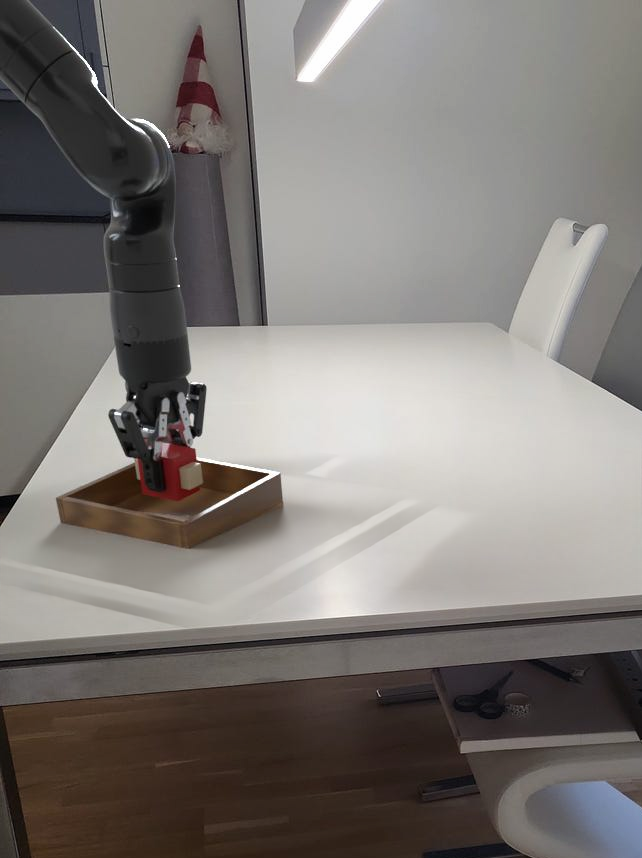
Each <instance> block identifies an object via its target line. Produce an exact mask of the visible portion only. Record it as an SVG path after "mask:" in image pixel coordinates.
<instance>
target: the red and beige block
mask: <svg viewBox="0 0 642 858" xmlns="http://www.w3.org/2000/svg"><path fill="white" fill-rule="evenodd" d="M148 448H150V449H151V446H149V447H148ZM196 458H197V451H196V448H194V447H191V448H190V447H184V446H179V445H174V444H168V443H163V442H162V456H161V460H163V466H164V474H165V481H166V490H165V491H163V492H161V493H160V492H155V491H150V490H149V489H148V488H147V487H146V485H145V481H144V474H143V467H142V462H141V460H140V459H137V458H136V459H134V462H135V467H136V474H137V479H138V480H141V487H142V494H145V495H149V496H154V497H159V498H164V499H168V500H173V501H180V500H182V499H184V498H186V497H188V496H190V495H192V494H194V493H196V492H198V491H200V485H201V484H203V479H202V470H201V464H200V463H197V459H196Z"/></svg>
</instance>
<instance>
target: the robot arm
mask: <svg viewBox="0 0 642 858" xmlns="http://www.w3.org/2000/svg"><path fill="white" fill-rule="evenodd" d="M0 81H1V82H3V84H4V85H5V86H6V87H7V88H8V89H9V90H10V91H11V92H12V93H13V94H14V95H15V96H16V97H17V98H18V99H19V100H20V101H21V102H22V103H23V104H24V105H25V106H26V107H27V108H28V110H30V111H31V112H32V113H33V114H34V115H35V116H36V117H37V118H38V119H39V120H40V121H41V122H42V124H43V125H44V127H45V128H46V130H47V132H48V133H49V135H50V137H51V138H52V139H53V142H55V143H56V145H57V146H58V148H59V150H61V152H62V153H63V155H64V156H65V158H66V159H67V161H69V164H70V165H71V166H72V167H73V168H74V170H76V172H77V173H78V174H79V175H80V176H81V178H82V179H84V181H86V182H87V183H88V184H89V185H90V186H91V187H92V188H93V189H94V190H95V191H97V192H98V193H100V194H101V195H103V196H104V197H107V198H108V199H109V200H110V223H109V225H108V227H107V229H106V231H105V232H104V235H103V254H104V255H103V256H104V260H105V261H104V262H105V267H106V275H107V281H108V282H107V283H108V291H109V313H110V321H111V327H112V335H113V341H114V348H115V349H114V350H115V355H116V361H117V368H118V374H119V376H120V377H121V378H122V379H123V380H124V382H125V381H126V383H127V386H128V388H127V391H126V395H125V403H124V404H123V405H122V406H121V407H120V408H118V409H115V408H110V409H109V411H108V415H107V416H108V419H109V422H110V423H111V426H112V428H113V430H114V433H115V436H116V438H117V440H118V442H119V444H120V446H121V449H122V451H123V454H124V455H125V457H126V458H131V459H134V458H137V459H140V460H141V462H142V467H143V474H144V481H145V485H146V487H147V488H148V489H149V490H150V491H155V492H160V493H161V492H163V491H165V490H166V481H165V474H164V466H163V460H161V456H162V441H163V440H164V439H165V438H166V432H167V435H168V438H169V441H170V443H172V444H174V445H179V446H184V447H190V448H192V446H193V445H194V439H196V438H200V437H201V436H202V435H203V429H204V420H205V410H206V399H207V385H206V384H205V383H200V382H195V381H194V382H193V381H189V380H188V378H187V377H188V376H189V375H190V374H191V372H192V361H191V353H190V344H189V335H188V327H187V318H186V317H187V316H186V309H185V303H184V299H183V296H182V292H181V291H182V290H181V286H180V278H179V270H178V269H179V268H178V261H177V254H176V253H177V252H176V247H175V241H174V230H175V221H176V219H175V217H176V194H177V193H176V188H177V187H176V183H177V182H176V168H175V162H174V158H173V153H172V150H171V146H170V145H169V143H168V141H167V139H166V137H165V135H164V134H163V132H161V130H159V129H158V128H157V127H156V126H155V125H154V124H153V123H150V122H149V121H148V120H147V121H146V120H144V119H140V118H134V117H133V118H132V117H129V118H124V117H123V116H121V115H120V113H119V112H118V111H117V110H116V109H115V108H114V107H113V106H112V105H111V103H110V102H109V100H108V99H107V98H106V97H105V96H104V95H103V94H102V93H101V92H100V90H99V88H98V80H97V77H96V74H95V72H94V71H93V70H92V67H90V65H89V64H88V62H87V61H86V60H85V59H84V58H83V56H81V55H80V54H79V52H78V51H77V50H76V49H75V48H74V47H73V46H72V45H71V44H70V43H69V42H68V41H67V39H66V38H65V37H64V36H63V35H62V34H61V33H60V32H59V31H58V30H57V29H56V28H55V27H54V26H53V25H52V23H51V22H50V21H49V20H48V19H47V18H46V17H45V16H44V15H43V14H42V13H41V12H40V11H39V10H38V9H37V7H36V6H34V4H33V3H32V2H31V1H30V0H0ZM191 414H192V415H193V420H192V421H193V423H192V421H191ZM146 426H148V427H154V428H155V431H152V430H148V429H147V428H146ZM177 430H178V432H177ZM148 438H150V439H151V449H150V448H148ZM133 444H134V445H133ZM134 446H135V447H134Z"/></svg>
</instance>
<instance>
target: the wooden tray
mask: <svg viewBox="0 0 642 858" xmlns="http://www.w3.org/2000/svg"><path fill="white" fill-rule="evenodd" d="M196 459H197V463H200V464H201V470H202V479H203V484H201V485H200V491H198V492H196V493H194V494H192V495H190V496H188V497H186V498H184V499H182V500H180V501H173V500H168V499H164V498H159V497H154V496H149V495H145V494H142V487H141V480H138V479H137V474H136V467H135V461H134V462H132V463H130V464H127V465H125V466H124V467H121V468H118V469H116V470H114V471H112V472H110V473H108V474H105V475H103V476H101V477H99V478H97V479H94V480H92V481H91V482H90V481H89V482H88V483H85V484H83V485H80V486H79V487H76V488H74V489H71V490H69V491H68V492H65V493H63V494H61V495H59V496H58V495H57V497H55V502H56V506H57V511H58V517H59V522H60V524H64V525H68V526H69V525H70V526H75V527H80V528H83V529H89V530H94V531H99V532H103V533H108V534H113V535H119V536H123V537H127V538H128V537H129V538H133V539H138V540H144V541H148V542H152V543H157V544H161V545H167V546H172V547H178V548H182V549H187V550H189V549H192V548H194V547H196V546H199V545H201V544H203V543H205V542H208V541H209V540H211V539H213V538H214V539H215V537H219V536H220V535H222V534H225V533H227V532H229V531H232V530H233V529H235V528H238V527H240V526H242V525H243V524H247V523H248V522H251V521H253V520H255V519H257V518H259V517H262V516H263V515H266V514H268V513H270V512H273V511H275V510H276V509H279V508H281V507H283V506H284V498H283V487H282V474H281V472H277V471H274V470H273V471H272V470H267V469H263V468H262V469H261V468H255V467H251V466H245V465H239V464H236V463H235V464H234V463H229V462H223V461H218V460H212V459H207V458H201V457H196ZM157 514H158V515H157ZM160 515H166V516H177V517H185V518H187V519H186V520H184V521H183V520H179V519H176V518H175V519H174V518H171V517H170V518H169V517H165V516H160Z"/></svg>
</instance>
